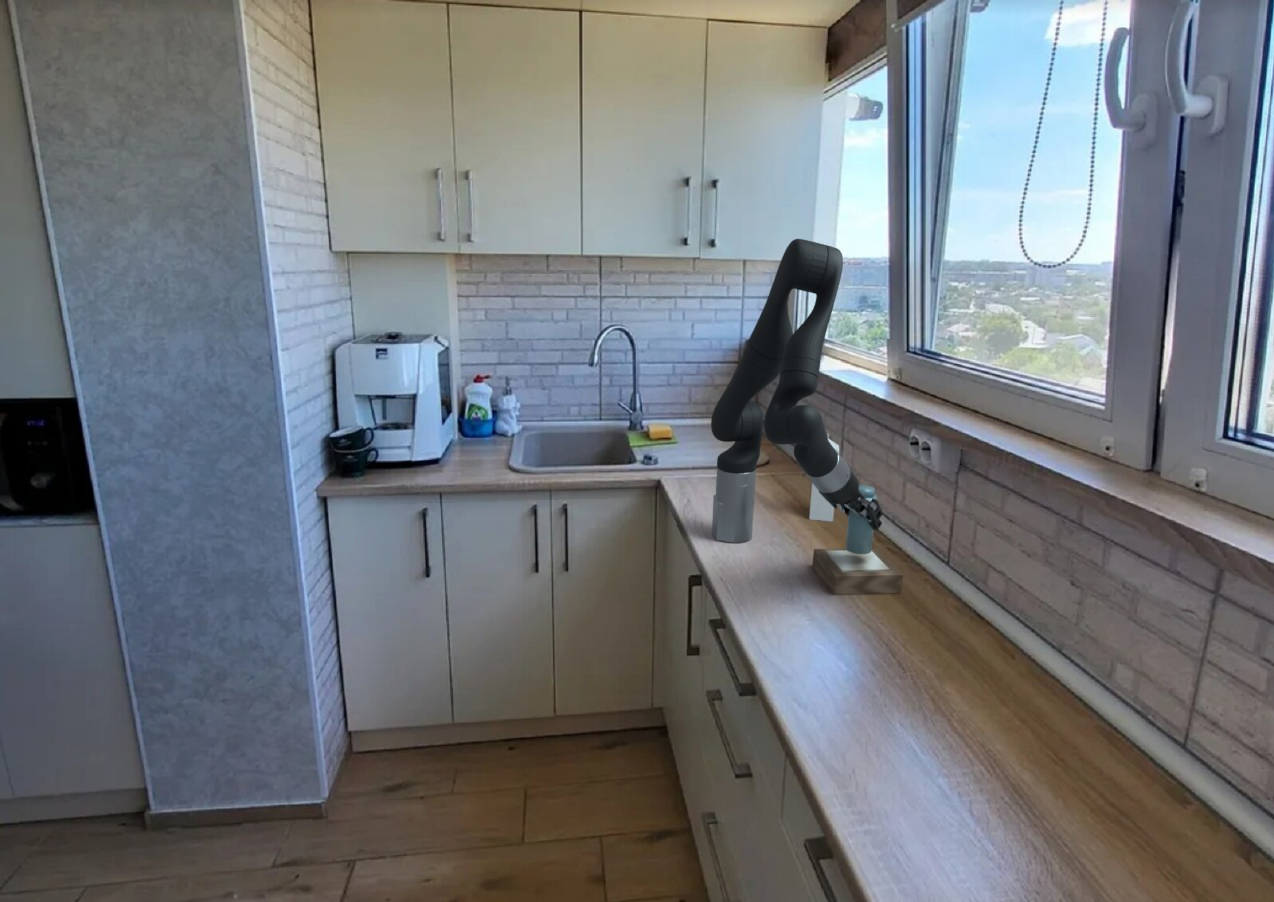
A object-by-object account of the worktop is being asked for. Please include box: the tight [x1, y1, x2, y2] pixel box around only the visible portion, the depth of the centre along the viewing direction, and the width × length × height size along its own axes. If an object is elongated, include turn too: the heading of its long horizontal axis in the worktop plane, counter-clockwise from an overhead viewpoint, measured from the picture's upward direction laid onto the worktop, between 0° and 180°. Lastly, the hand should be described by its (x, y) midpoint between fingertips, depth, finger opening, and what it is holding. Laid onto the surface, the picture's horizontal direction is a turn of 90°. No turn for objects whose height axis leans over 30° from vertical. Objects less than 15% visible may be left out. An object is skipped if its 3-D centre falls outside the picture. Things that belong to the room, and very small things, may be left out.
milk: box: [808, 438, 840, 523], centre depth 189 cm, size 6×6×22 cm
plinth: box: [812, 547, 904, 596], centre depth 156 cm, size 14×14×4 cm
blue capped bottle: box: [844, 484, 878, 554], centre depth 153 cm, size 5×5×14 cm
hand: (866, 522), depth 154 cm, fingers closed on blue capped bottle, 5 cm apart
